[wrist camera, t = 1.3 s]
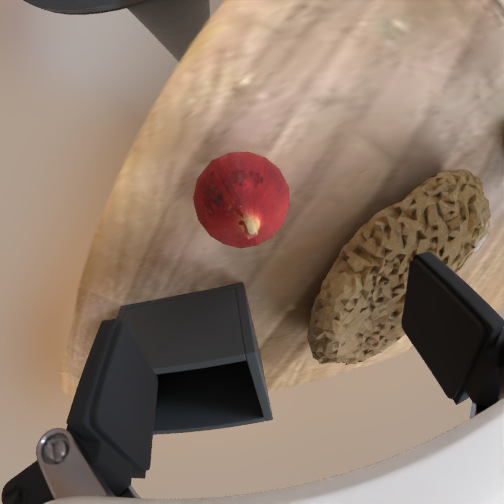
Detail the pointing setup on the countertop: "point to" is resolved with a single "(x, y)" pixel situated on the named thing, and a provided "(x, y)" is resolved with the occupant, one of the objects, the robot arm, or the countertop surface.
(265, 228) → the onion
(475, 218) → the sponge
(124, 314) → the waste bin
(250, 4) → the countertop surface
